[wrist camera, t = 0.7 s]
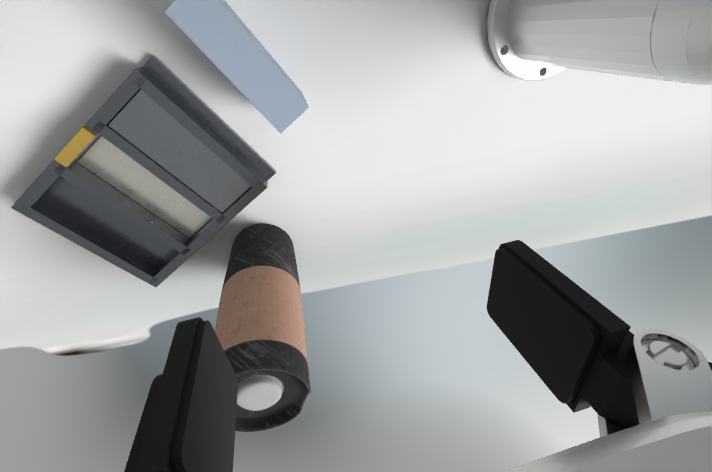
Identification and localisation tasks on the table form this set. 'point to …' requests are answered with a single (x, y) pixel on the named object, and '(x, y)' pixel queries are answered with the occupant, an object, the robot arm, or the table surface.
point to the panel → (240, 58)
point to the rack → (147, 177)
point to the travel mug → (264, 328)
